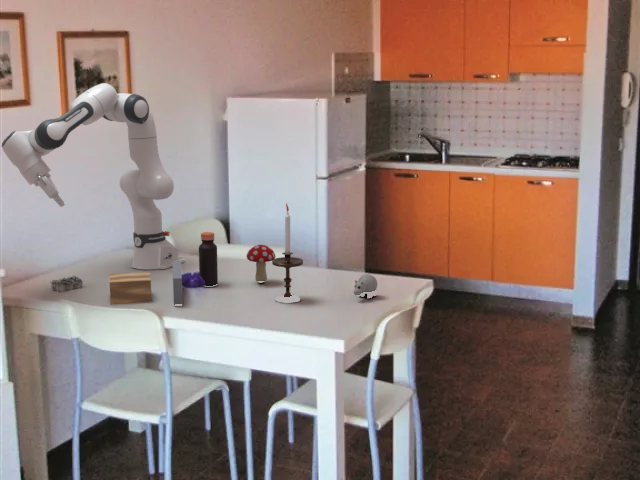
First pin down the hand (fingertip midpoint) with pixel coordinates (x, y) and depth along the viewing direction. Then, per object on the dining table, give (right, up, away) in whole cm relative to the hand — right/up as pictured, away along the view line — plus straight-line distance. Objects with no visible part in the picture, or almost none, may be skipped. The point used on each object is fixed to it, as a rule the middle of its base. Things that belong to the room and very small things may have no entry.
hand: (62, 205), depth 317 cm
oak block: (+24, -33, +2) cm, 41 cm away
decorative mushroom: (+69, -29, +23) cm, 78 cm away
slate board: (+40, -33, +5) cm, 52 cm away
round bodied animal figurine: (+107, -34, +3) cm, 112 cm away
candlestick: (+80, -34, +1) cm, 87 cm away
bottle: (+49, -30, +19) cm, 61 cm away
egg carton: (-3, -31, +15) cm, 34 cm away
